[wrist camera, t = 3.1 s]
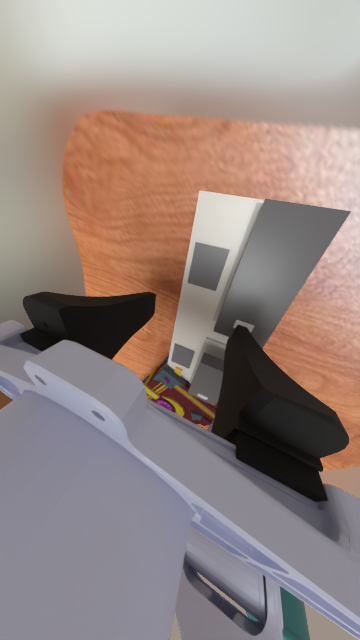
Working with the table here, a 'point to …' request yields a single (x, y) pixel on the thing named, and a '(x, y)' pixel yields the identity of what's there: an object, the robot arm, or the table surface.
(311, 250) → the rocker outer
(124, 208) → the table surface
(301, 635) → the beverage bottle
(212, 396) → the rocker inboard
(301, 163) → the table surface
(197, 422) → the decorative book
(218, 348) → the base
